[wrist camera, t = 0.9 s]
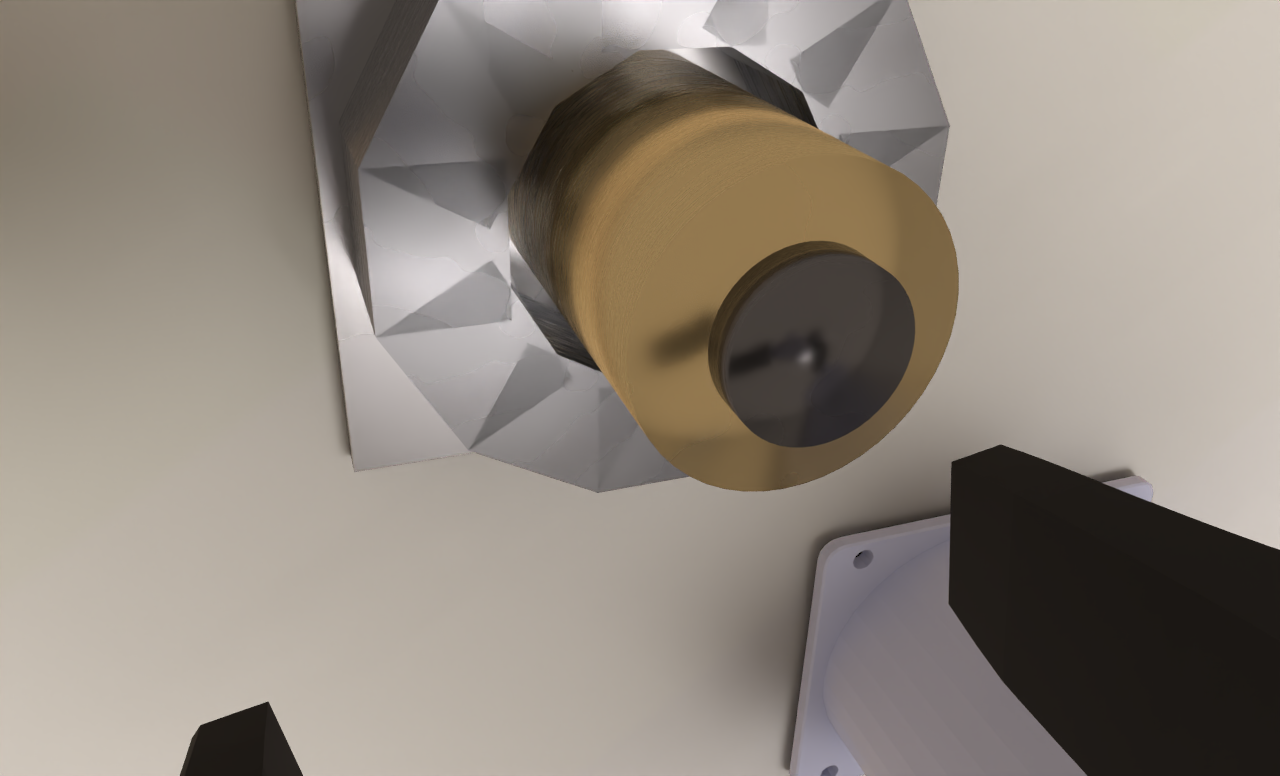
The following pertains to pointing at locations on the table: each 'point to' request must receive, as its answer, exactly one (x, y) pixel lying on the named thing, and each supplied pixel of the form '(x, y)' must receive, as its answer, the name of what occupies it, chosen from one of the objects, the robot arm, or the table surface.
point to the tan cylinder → (735, 271)
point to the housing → (486, 171)
